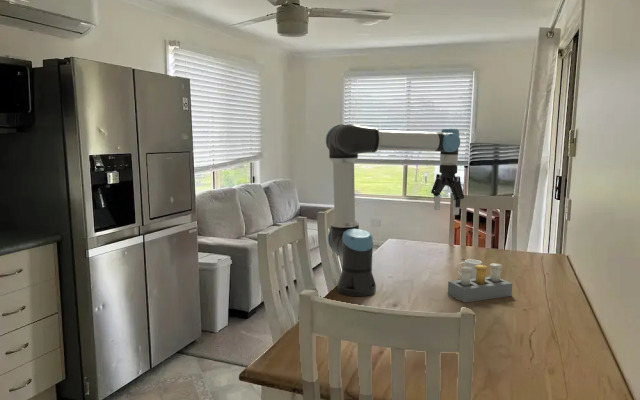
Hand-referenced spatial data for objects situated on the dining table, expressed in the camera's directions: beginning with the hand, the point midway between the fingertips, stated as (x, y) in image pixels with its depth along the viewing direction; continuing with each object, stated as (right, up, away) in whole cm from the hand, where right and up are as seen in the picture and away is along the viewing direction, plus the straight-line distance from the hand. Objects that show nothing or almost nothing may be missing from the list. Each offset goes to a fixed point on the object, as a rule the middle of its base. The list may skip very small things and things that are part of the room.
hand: (446, 212), depth 206 cm
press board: (+6, -31, -27) cm, 41 cm away
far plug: (+12, -26, -25) cm, 38 cm away
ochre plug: (+6, -27, -27) cm, 38 cm away
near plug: (-1, -27, -30) cm, 40 cm away
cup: (+8, -29, -7) cm, 30 cm away
